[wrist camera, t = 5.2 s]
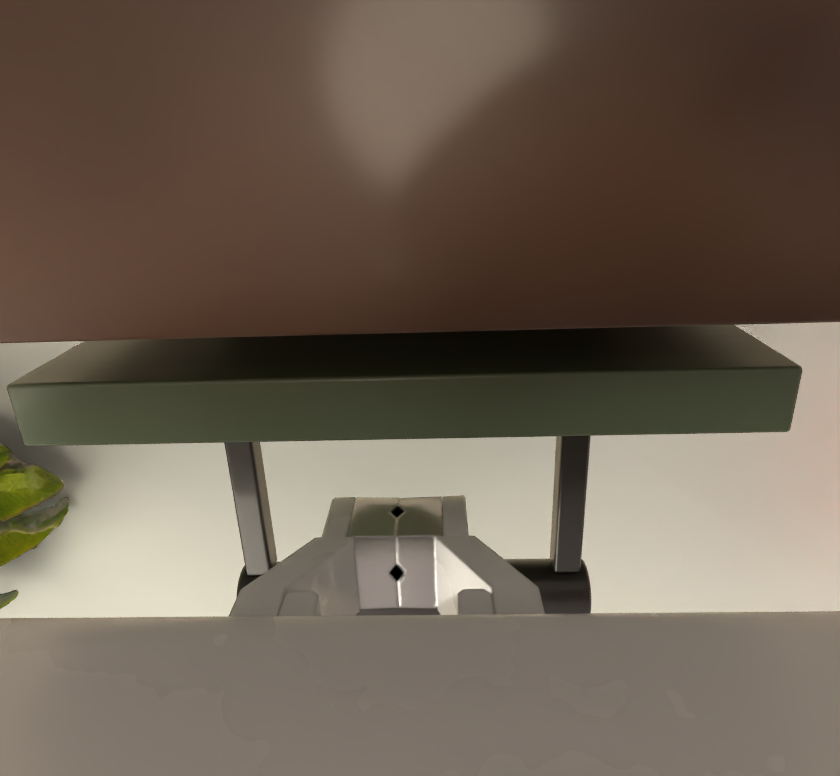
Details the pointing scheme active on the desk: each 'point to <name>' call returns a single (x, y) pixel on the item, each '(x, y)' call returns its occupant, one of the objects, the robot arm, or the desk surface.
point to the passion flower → (25, 508)
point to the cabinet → (415, 166)
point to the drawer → (413, 405)
